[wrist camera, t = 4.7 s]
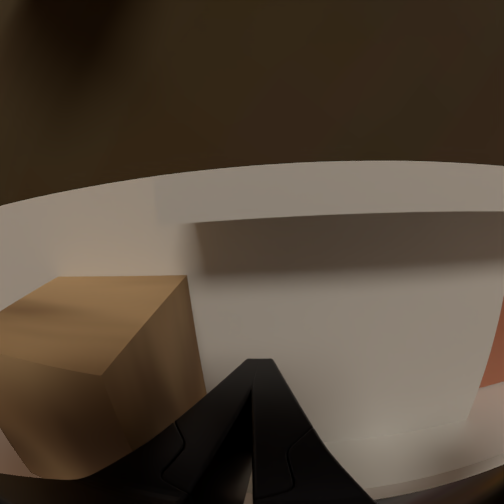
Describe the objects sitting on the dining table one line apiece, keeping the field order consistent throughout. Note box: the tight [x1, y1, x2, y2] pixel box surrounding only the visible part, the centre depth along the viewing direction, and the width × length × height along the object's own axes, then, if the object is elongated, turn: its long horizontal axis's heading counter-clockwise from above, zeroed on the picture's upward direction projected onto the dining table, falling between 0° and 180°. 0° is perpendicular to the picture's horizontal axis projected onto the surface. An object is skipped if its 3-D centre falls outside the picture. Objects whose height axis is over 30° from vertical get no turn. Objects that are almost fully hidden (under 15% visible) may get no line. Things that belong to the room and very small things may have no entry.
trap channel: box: [0, 161, 504, 504], centre depth 9 cm, size 11×26×4 cm, turn 95°
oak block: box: [0, 275, 207, 480], centre depth 8 cm, size 5×5×5 cm
